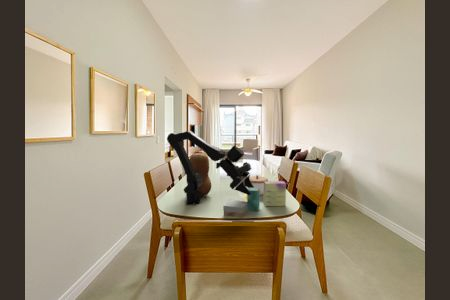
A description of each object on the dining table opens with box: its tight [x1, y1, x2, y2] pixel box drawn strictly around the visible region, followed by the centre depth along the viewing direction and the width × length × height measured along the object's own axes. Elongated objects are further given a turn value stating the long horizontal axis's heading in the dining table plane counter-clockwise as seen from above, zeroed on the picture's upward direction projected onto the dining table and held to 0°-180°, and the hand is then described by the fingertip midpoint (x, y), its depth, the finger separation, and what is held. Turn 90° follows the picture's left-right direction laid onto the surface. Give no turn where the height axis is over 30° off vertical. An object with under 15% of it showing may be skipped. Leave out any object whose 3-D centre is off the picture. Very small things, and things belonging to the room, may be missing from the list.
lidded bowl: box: [247, 175, 269, 196], centre depth 140 cm, size 13×13×11 cm
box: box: [262, 180, 287, 207], centre depth 120 cm, size 10×6×12 cm, turn 92°
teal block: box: [246, 188, 261, 212], centre depth 114 cm, size 5×5×10 cm
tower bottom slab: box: [223, 208, 248, 218], centre depth 109 cm, size 9×9×2 cm
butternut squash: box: [189, 153, 212, 198], centre depth 135 cm, size 14×13×25 cm
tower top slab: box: [222, 199, 248, 213], centre depth 109 cm, size 9×9×2 cm
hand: (252, 192), depth 113 cm, fingers open, 9 cm apart
